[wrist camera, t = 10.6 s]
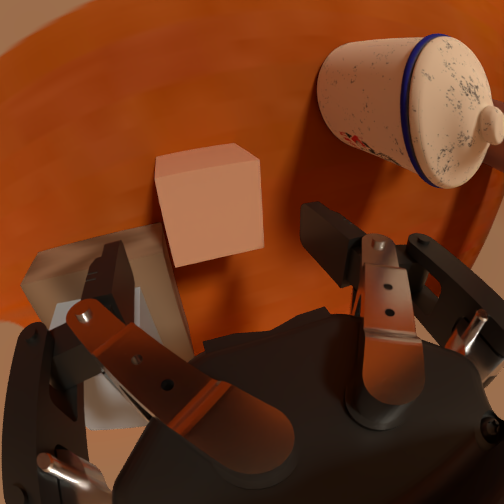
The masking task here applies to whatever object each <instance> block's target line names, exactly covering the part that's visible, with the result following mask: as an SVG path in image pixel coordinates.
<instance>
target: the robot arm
mask: <svg viewBox="0 0 504 504" xmlns="http://www.w3.org/2000/svg"><path fill="white" fill-rule="evenodd" d="M492 102H493V106H494V107H497V108H499V109H500V110H501V111H502V113H503V115H504V103H503V102H500V101H497V100H494V99H492ZM482 162H483V163H485V164H487V165H489V166H491V167H493V168H495V169H497V170H499V171H501V172H503V173H504V139H503V141H502V142H501V143H500V144H498V145H492V144H490V145H489V147H488V149H487V152H486V154H485V157H484V159H483V161H482ZM300 240H301V243H302V245H303V247H304V248H305V249H306V250H307V251H308V252H309V253H310V255H311V256H312V257H313V258H314V259H315V260H316V261H317V262H318V263H319V264H320V266H321V267H322V268H323V269H324V270H325V271H326V272H327V273H328V274H329V276H330V277H331V278H332V279H333V280H334V281H335V282H336V283H337V284H338V286H339V287H340V288H343V287H346V286H349V285H352V286H353V288H352V293H351V303H350V314H349V315H347V314H330V313H329V312H328V310H327V309H326V308H325V307H322V308H319V309H316V310H313V311H309V312H306V313H303V314H300V315H297V316H296V317H294V318H292V319H290V320H289V321H287V322H285V323H283V324H282V325H280V326H278V327H276V328H274V329H272V330H270V331H262V332H249V333H235V334H231V335H227V336H223V337H219V338H215V339H211V340H207V341H203V345H204V348H205V351H204V352H202V353H200V354H198V355H197V356H195V357H194V358H192V359H191V360H190V361H188V362H186V361H185V360H183V359H182V358H180V357H179V356H177V355H176V354H175V353H173V352H172V351H170V350H169V349H168V348H166V347H165V346H163V345H162V344H161V343H159V342H158V341H157V340H155V339H154V338H153V337H151V336H150V335H149V334H147V333H146V332H145V331H143V330H142V329H141V328H140V327H138V326H137V325H136V324H134V297H135V281H134V276H133V272H132V269H131V266H130V263H129V260H128V257H127V254H126V251H125V248H124V245H123V242H122V241H121V240H119V241H115V242H111V243H107V244H105V245H104V248H103V252H102V255H101V257H98V258H95V260H94V261H93V262H92V263H91V265H90V266H89V270H88V273H87V274H88V275H87V277H86V282H85V284H84V288H83V292H82V297H81V301H79V302H77V303H76V304H74V305H73V306H72V307H71V308H70V309H69V311H68V313H67V315H66V323H64V324H62V325H60V326H58V327H56V328H54V329H52V330H48V328H47V327H46V325H45V324H44V323H42V322H35V323H32V324H30V325H28V326H27V327H26V328H24V330H23V331H22V332H21V333H20V335H19V337H18V340H17V344H16V348H15V352H14V357H13V361H12V365H11V370H10V376H9V381H8V387H7V393H6V401H5V408H4V419H3V431H2V480H3V492H4V499H5V502H6V504H504V420H501V419H500V418H499V417H497V415H496V414H495V413H494V412H493V410H492V408H491V406H490V404H489V402H488V399H487V397H486V394H485V391H484V388H485V387H486V386H488V385H489V384H490V382H491V381H492V380H493V379H494V378H495V377H496V376H497V374H499V372H500V371H501V370H502V369H503V368H504V300H503V299H502V298H501V297H500V296H499V295H498V294H497V293H496V292H495V291H494V290H493V289H491V288H490V287H489V286H488V285H487V284H486V283H485V282H484V281H483V280H482V279H481V278H479V277H478V276H477V275H476V274H475V273H474V272H473V271H472V270H470V269H469V268H468V267H467V266H466V265H465V264H463V263H462V262H461V261H460V260H459V259H457V258H456V257H455V256H454V255H453V254H451V253H450V252H449V251H448V250H446V249H445V248H444V247H443V246H441V245H440V244H439V243H437V242H436V241H435V240H434V239H432V238H431V237H429V236H427V235H424V234H419V233H414V234H411V235H410V236H409V238H408V242H407V245H395V244H394V242H393V241H392V240H391V239H390V238H388V237H386V236H384V235H380V234H366V233H365V232H363V231H362V230H361V229H359V228H358V227H357V226H355V225H354V224H352V223H351V222H350V221H349V220H346V218H345V217H343V216H342V215H341V214H339V213H337V212H334V211H332V210H330V209H328V208H327V207H325V206H324V205H323V204H321V203H320V202H318V201H317V202H311V203H305V204H302V206H301V213H300ZM429 273H430V274H431V275H433V276H434V277H435V278H436V279H437V280H438V281H439V282H440V284H441V294H440V296H439V299H438V297H437V296H436V295H435V294H434V293H433V292H432V291H431V290H430V289H429V288H428V287H426V286H425V282H426V279H427V277H428V274H429ZM414 316H415V317H416V318H417V319H418V320H419V321H420V323H421V324H422V325H423V326H424V327H425V328H426V330H427V331H428V332H429V333H430V334H431V335H432V337H433V338H434V339H435V340H436V342H437V343H438V344H439V345H440V346H438V345H435V344H433V343H430V342H427V341H424V340H421V339H420V338H419V337H417V335H416V328H415V321H414ZM100 373H101V374H102V375H103V376H104V377H105V378H106V379H107V380H108V381H109V383H110V384H111V385H112V386H113V387H114V388H115V389H116V390H117V391H118V392H119V393H120V394H121V395H122V396H123V397H124V398H125V399H126V400H127V401H128V402H129V403H130V404H131V405H132V406H133V407H134V408H135V409H136V410H137V411H138V413H139V414H140V415H141V416H143V417H144V418H145V419H146V420H147V421H148V422H149V423H148V424H147V426H146V428H145V430H144V431H143V433H142V435H141V437H140V438H139V440H138V442H137V443H136V445H135V447H134V449H133V451H132V452H131V454H130V456H129V457H128V459H127V461H126V463H125V465H124V466H123V468H122V470H121V471H120V473H119V475H118V477H117V478H116V481H115V483H114V486H113V490H112V491H111V490H110V489H109V488H108V486H107V484H106V482H105V479H104V476H103V474H102V473H101V471H100V470H99V469H98V468H97V467H96V466H95V465H93V464H92V463H90V462H89V457H88V449H87V439H86V429H85V412H84V381H85V380H88V379H90V378H92V377H94V376H96V375H98V374H100Z"/></svg>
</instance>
